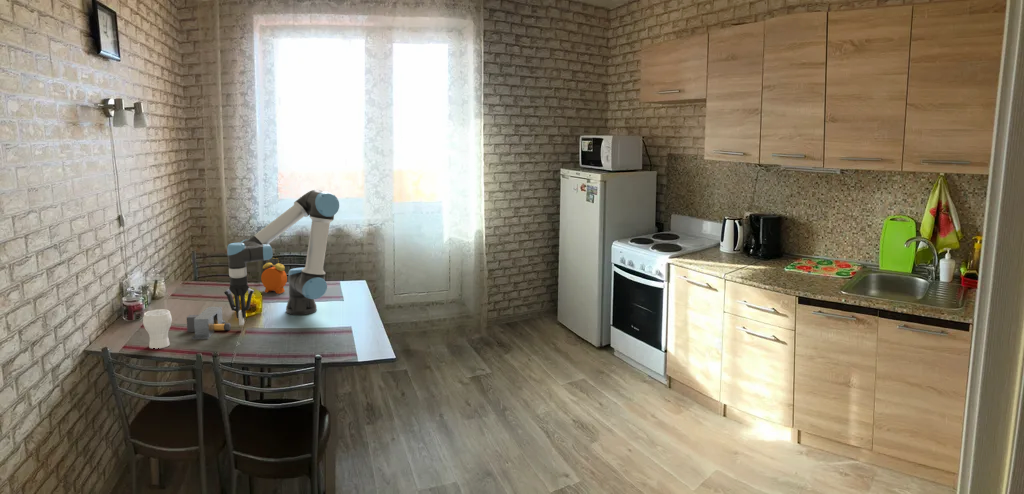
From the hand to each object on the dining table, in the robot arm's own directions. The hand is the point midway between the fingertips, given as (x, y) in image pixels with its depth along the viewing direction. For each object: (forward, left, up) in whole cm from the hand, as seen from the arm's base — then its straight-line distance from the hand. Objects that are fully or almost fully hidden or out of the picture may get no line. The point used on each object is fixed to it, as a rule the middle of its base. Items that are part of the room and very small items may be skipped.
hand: (241, 324), depth 288 cm
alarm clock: (0, -68, -3) cm, 68 cm away
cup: (+29, +20, -3) cm, 35 cm away
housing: (+15, 0, -3) cm, 15 cm away
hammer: (+14, 0, -3) cm, 15 cm away
